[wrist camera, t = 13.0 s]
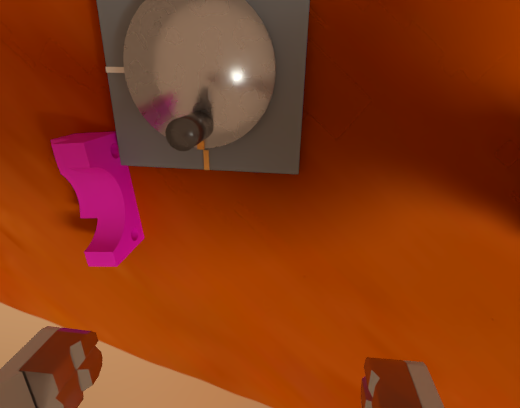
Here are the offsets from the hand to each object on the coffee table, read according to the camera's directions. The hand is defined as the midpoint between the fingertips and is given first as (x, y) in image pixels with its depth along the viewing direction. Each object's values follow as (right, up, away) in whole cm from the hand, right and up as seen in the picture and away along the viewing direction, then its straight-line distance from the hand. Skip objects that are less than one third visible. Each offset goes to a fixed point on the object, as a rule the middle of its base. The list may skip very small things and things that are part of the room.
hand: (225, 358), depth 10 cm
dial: (-5, +19, +25) cm, 32 cm away
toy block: (-19, +7, +34) cm, 40 cm away
